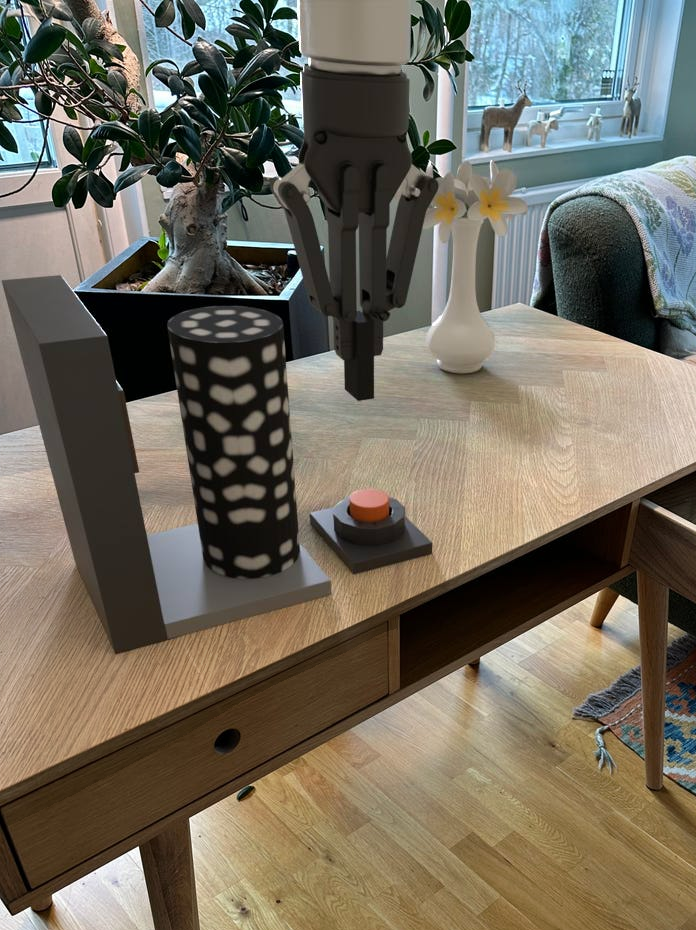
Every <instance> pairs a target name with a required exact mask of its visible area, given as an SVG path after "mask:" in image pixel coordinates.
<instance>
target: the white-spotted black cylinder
mask: <svg viewBox="0 0 696 930" xmlns="http://www.w3.org/2000/svg"><path fill="white" fill-rule="evenodd" d="M166 327H167V333H168V340H169V346H170V347H169V348H170V352H171V353H170V354H171V358H172V366H173V372H174V378H175V385H176V391H177V398H178V405H179V411H180V412H179V413H180V418H181V424H182V430H183V437H184V443H185V450H186V456H187V463H188V469H189V476H190V483H191V490H192V495H193V502H194V508H195V514H196V522H197V524H198V528H199V535H200V541H201V548H202V554H203V560H204V562H205V564H206V566H207V567H209V568H210V569H211V570H212V571H214V572H216V573H218V574H221V575H224V576H227V577H232V578H241V579H253V578H261V577H267V576H271V575H274V574H277V573H279V572H282V571H284V570H285V569H287V568H289V567H290V566H291V565H293V564H294V563H295V562H296V560H297V559H298V557H299V554H300V543H301V542H300V533H299V531H300V530H299V519H298V518H299V517H298V505H297V503H298V502H297V491H296V477H295V464H294V463H295V462H294V452H293V450H294V449H293V437H292V436H293V435H292V425H291V409H290V398H289V396H290V395H289V388H288V387H289V384H288V371H287V356H286V345H285V330H284V322H283V319H282V318H281V317H280V316H279V315H277V314H275V313H273V312H270V311H268V310H265V309H261V308H258V307H257V308H256V307H250V306H242V305H240V306H239V305H214V306H213V305H212V306H204V307H199V308H193V309H189V310H188V309H187V310H185V311H182V312H180V313H177V314H175V315H174V316H172V317H171V318H169V320H168V321H167V323H166ZM299 542H300V543H299Z"/></svg>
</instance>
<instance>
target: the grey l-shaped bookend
mask: <svg viewBox="0 0 696 930" xmlns="http://www.w3.org/2000/svg"><path fill="white" fill-rule="evenodd" d="M1 284H2V289H3V292H4V295H5V300H6V304H7V307H8V312H9V316H10V318H11V322H12V326H13V330H14V334H15V339H16V342H17V346H18V349H19V353H20V357H21V361H22V365H23V368H24V373H25V376H26V380H27V385H28V388H29V391H30V395H31V400H32V403H33V407H34V411H35V415H36V418H37V422H38V426H39V429H40V433H41V438H42V441H43V446H44V449H45V452H46V456H47V461H48V464H49V468H50V472H51V477H52V480H53V483H54V487H55V491H56V494H57V498H58V503H59V505H60V510H61V514H62V517H63V521H64V525H65V529H66V532H67V537H68V541H69V544H70V548H71V552H72V556H73V560H74V563H75V564H74V565H75V567H76V569H77V572H78V574H79V576H80V578H81V580H82V582H83V585H84V587H85V589H86V591H87V594H88V596H89V598H90V600H91V602H92V605H93V607H94V609H95V611H96V614H97V617H98V619H99V621H100V623H101V625H102V627H103V630H104V632H105V635H106V636H107V639H108V641H109V643H110V645H111V648H112V650H113V653H114V654H120V653H123V652H126V651H131V650H134V649H138V648H142V647H146V646H149V645H152V644H157V643H160V642H163V641H167V640H171V639H174V638H178V637H183V636H186V635H189V634H193V633H197V632H200V631H204V630H207V629H211V628H215V627H219V626H223V625H225V624H226V625H227V624H230V623H234V622H237V621H241V620H245V619H247V618H251V617H255V616H258V615H262V614H266V613H270V612H273V611H276V610H281V609H284V608H288V607H291V606H292V607H293V606H295V605H299V604H302V603H306V602H309V601H313V600H318V599H321V598H324V597H328V596H331V595H332V593H333V592H332V580H331V579H330V577H329V576H328V575H327V574H326V572H325V571H324V570H323V569H322V568H321V566H320V564H319V563H317V562H316V560H315V559H314V558H313V557H312V555H311V554H310V553H309V552H308V551H307V549H306V548H305V547H304V546H303V544H302V543H301V541H299V543H300V554H299V557H298V559H297V560H296V562H295V563H294V564H293V565H291V566H290V567H289V568H287V569H285V570H284V571H282V572H279V573H277V574H274V575H271V576H267V577H261V578H253V579H241V578H232V577H227V576H224V575H221V574H218V573H216V572H214V571H212V570H211V569H210V568H209V567H207V566H206V564H205V562H204V560H203V554H202V548H201V541H200V535H199V528H198V523H193V524H188V525H184V526H180V527H174V528H170V529H167V530H162V531H157V532H153V533H149V534H148V533H147V530H146V524H145V518H144V514H143V510H142V509H143V508H142V505H141V504H142V503H141V499H140V494H139V489H138V484H137V478H136V474H138V473H140V468H139V463H138V458H137V457H138V456H137V453H136V448H135V442H134V437H133V432H132V426H131V421H130V416H129V411H128V406H127V401H126V396H125V391H124V390H123V388H122V387H121V385H120V384H119V382H118V381H117V377H116V374H115V373H116V372H115V368H114V363H113V358H112V353H111V347H110V343H109V337H108V335H107V334H106V332H105V331H104V330H103V329H102V326H101V324H100V323H98V322H97V321H96V319H95V318H94V317H93V315H92V314H91V313H90V312H89V310H88V309H87V307H86V306H85V305H84V303H83V302H82V301H81V299H80V298H79V296H78V295H77V294H76V293H75V292H74V290H73V289H72V288H71V287H70V285H69V284H68V282H67V281H66V279H65V278H64V277H63V276H62V275H61V274H57V275H48V276H46V275H45V276H36V277H23V278H13V279H12V278H11V279H2V280H1Z"/></svg>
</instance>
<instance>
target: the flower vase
mask: <svg viewBox="0 0 696 930" xmlns="http://www.w3.org/2000/svg"><path fill="white" fill-rule="evenodd" d="M489 171H490V172H489V174H490V177H488V176H487V177H486V176H482V175H481V174H478V173H473V167H472V163H471V162H470V161H469V160H464V161H463V162H462V163H461V164H460V165H459V167H458V169H457V171H456V178H455V176H454V174H453V173H452V172H451V171H447V172H446V173H445V174H444V176H443V177H436V178H435V179H436V180H437V181H438V184H439V188H438V191H437V193H436V195H435V196H434V198H433V200H432V202H431V204H430V205H429V207H428V209H427V211H426V214H425V219H424V223H423V228H422V231H426V230H429V229H432V228H433V227H435V226H437V225H438V230H437V231H438V238H439V240H440V242H441V243H442V244H447V243H448V241H449V239H450V237H451V236H452V237H451V240H452V264H451V265H452V266H451V277H450V278H451V279H450V288H449V293H448V300H447V303H446V305H445V307H444V309H443V311H442V313H441V314H440V316H439V317H438V318H436V319H435V320H434V322H433V323H432V324H431V326H430V327H429V329H428V331H427V334H426V337H425V344H426V347H427V349H428V351H429V353H431V355H432V356H433V357H434V358H435V359H436V364H437V367H438V368H440V369H441V370H443V371H445V372H448V373H452V374H472V373H476V372H478V371H480V370H481V369H482V367H483V362H484V361H486V360H487V359H488V358H490V356H491V355H492V354H493V352H494V350H495V347H496V338H495V334H494V332H493V329H492V327H491V326H490V325H489V323H488V322H487V321H486V320H485V319H484V317H483V316H482V314H481V312H480V308H479V305H478V301H477V300H478V299H477V291H476V290H477V289H476V285H477V284H476V281H477V280H476V278H477V277H476V276H477V273H476V271H477V268H476V266H477V251H478V243H479V238H480V233H481V228H482V225H483V224H484V222H485V220H486V219H488V220H489V223H490V226H491V228H492V230H493V232H494V233H495V234H496V235H497V236H498V237H500V238H504V237H505V236H506V235H507V234H508V229H509V227H508V226H509V225H508V221H509V222H511V223H513V222H514V216H516V215H522V216H526V215H528V203H527V202H526V201H525V200H524V199H523V198H520V197H517V196H511V195H512V194H513V193H514V191H515V190H516V188H517V184H518V179H517V175H516V174H515V172H513V171H511V170H510V169H508V168H503V169H501V170H500V171H499V168H498V166H497V164H496V162H495V161H494V160H490V162H489ZM425 174H426V175H428V176H430V177H432V178H434V170H433V165H432V161H431V160H429V162H428V163H427V167H426V170H425ZM401 194H402V193H401V189H400V187H399V189H398V190H397V192H396V194H395V196H394V197H393V199H395V200H396V201H398V202H399V200H400V197H401ZM430 206H432V207H431V208H430Z"/></svg>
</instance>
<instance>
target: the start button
mask: <svg viewBox="0 0 696 930" xmlns="http://www.w3.org/2000/svg"><path fill="white" fill-rule="evenodd" d="M349 497H350V516H351V518H352V519H355V520H358V521H361V522H377V521H381V520H385V519H386V518H388V516H389V497H390V496H389V495H388V494H387V493H386V492H384V491H382V490H379V489H375V488H374V489H373V488H364V489H359V490H357V491H354V492H353V493H352V494H351V495H350V496H349Z"/></svg>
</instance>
